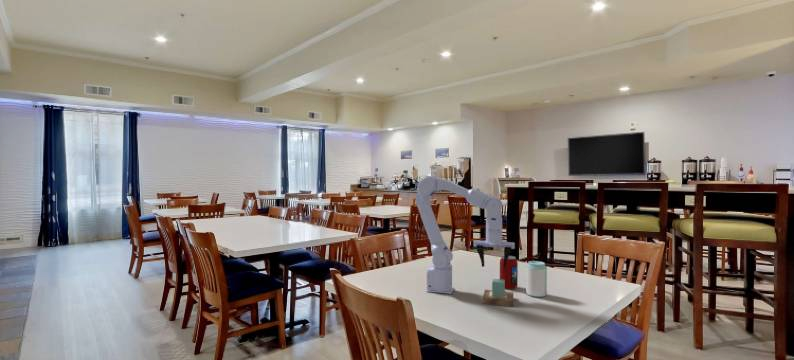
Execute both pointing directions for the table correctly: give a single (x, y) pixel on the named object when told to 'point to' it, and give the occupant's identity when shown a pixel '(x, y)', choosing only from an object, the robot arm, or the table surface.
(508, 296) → the walnut base
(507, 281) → the beverage can
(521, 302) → the table surface
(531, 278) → the can
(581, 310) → the table surface
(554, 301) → the table surface
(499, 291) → the teal block
